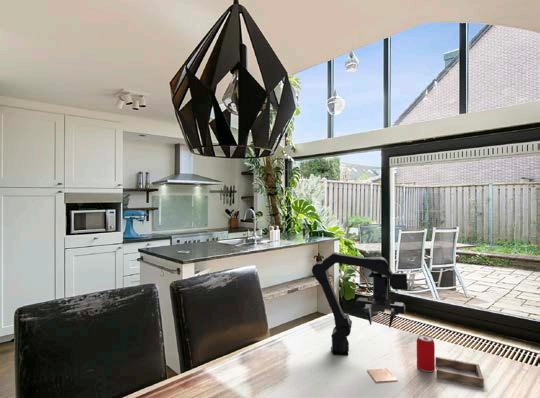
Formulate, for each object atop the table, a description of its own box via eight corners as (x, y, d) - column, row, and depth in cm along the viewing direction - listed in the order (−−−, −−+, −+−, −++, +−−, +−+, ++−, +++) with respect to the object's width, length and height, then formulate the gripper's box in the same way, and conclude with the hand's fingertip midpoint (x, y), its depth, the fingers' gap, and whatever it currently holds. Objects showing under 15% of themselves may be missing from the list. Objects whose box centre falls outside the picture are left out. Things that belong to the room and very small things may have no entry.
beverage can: (433, 366, 127) (433, 335, 127) (435, 374, 121) (435, 342, 121) (415, 363, 129) (415, 333, 129) (417, 371, 123) (417, 339, 123)
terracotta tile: (376, 384, 116) (376, 381, 116) (367, 372, 124) (367, 369, 124) (397, 382, 116) (397, 380, 116) (387, 371, 124) (387, 368, 124)
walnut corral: (436, 378, 118) (436, 369, 118) (435, 364, 128) (435, 356, 128) (483, 387, 112) (483, 379, 112) (478, 372, 122) (478, 364, 122)
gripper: (353, 290, 130) (353, 329, 130) (403, 296, 122) (403, 337, 123) (358, 283, 140) (358, 319, 141) (405, 289, 133) (405, 327, 133)
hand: (380, 326), depth 134 cm, fingers open, 7 cm apart
